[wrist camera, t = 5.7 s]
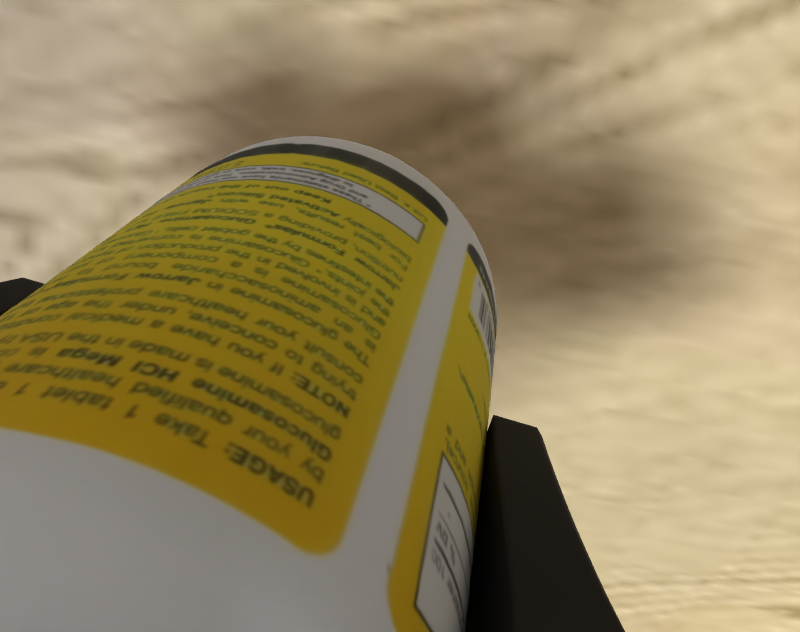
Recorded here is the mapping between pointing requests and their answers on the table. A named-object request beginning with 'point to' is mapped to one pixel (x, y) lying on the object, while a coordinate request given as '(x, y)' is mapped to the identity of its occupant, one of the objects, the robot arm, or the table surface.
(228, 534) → the pill bottle
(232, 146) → the table surface
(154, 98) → the table surface
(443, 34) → the table surface
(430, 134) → the table surface
